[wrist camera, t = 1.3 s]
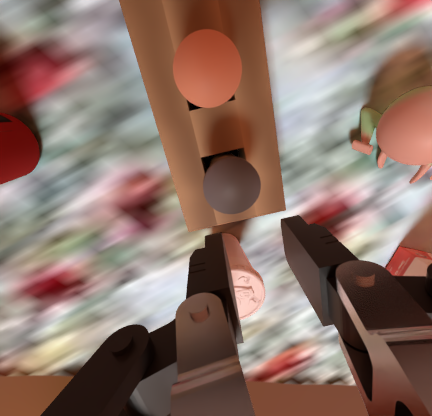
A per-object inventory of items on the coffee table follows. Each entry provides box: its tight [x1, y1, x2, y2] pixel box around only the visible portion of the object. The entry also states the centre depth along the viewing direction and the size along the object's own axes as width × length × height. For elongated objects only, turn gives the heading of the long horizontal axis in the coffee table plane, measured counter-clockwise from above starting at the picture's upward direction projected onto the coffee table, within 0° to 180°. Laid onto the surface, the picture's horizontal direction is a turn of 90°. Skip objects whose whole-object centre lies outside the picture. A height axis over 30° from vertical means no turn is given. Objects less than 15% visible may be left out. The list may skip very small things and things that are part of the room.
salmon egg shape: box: [173, 29, 242, 108], centre depth 19 cm, size 4×4×7 cm
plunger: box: [203, 152, 261, 214], centre depth 22 cm, size 4×4×7 cm
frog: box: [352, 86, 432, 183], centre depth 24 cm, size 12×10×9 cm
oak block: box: [119, 0, 286, 232], centre depth 22 cm, size 10×26×6 cm, turn 13°
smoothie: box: [222, 233, 265, 320], centre depth 26 cm, size 6×6×14 cm
